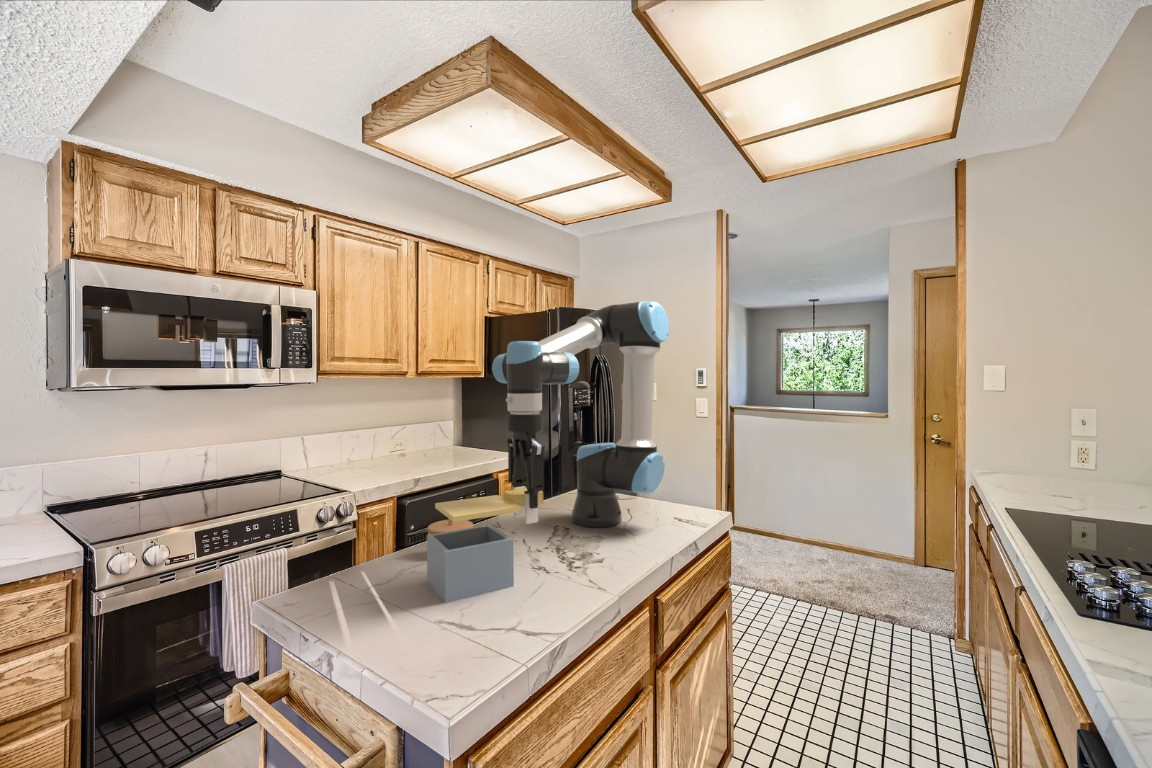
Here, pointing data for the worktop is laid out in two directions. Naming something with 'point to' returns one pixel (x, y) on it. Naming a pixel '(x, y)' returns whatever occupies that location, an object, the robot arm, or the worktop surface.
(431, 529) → the lidded jar
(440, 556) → the tub
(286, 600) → the worktop surface
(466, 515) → the lid
